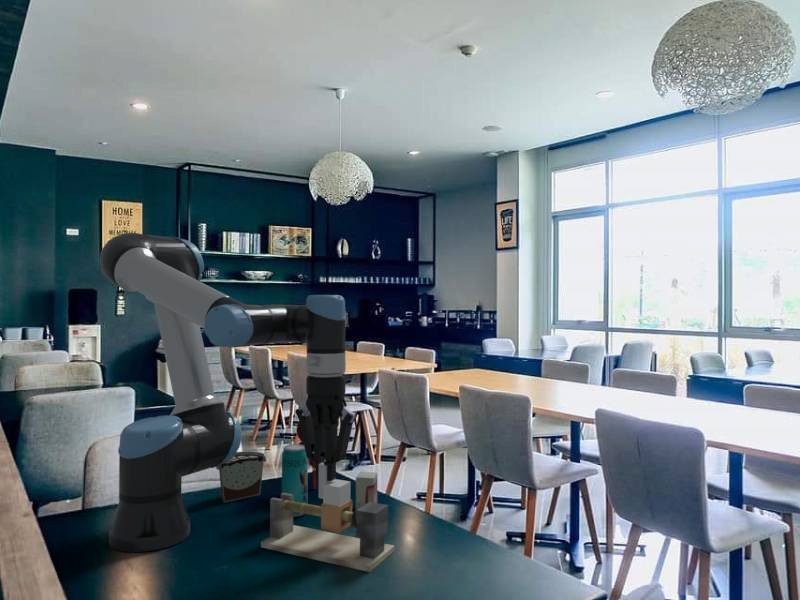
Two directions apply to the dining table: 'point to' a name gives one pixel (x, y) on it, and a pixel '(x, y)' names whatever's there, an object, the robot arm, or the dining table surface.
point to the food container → (241, 476)
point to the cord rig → (330, 535)
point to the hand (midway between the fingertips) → (325, 496)
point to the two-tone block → (335, 505)
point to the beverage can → (295, 473)
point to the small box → (366, 488)
